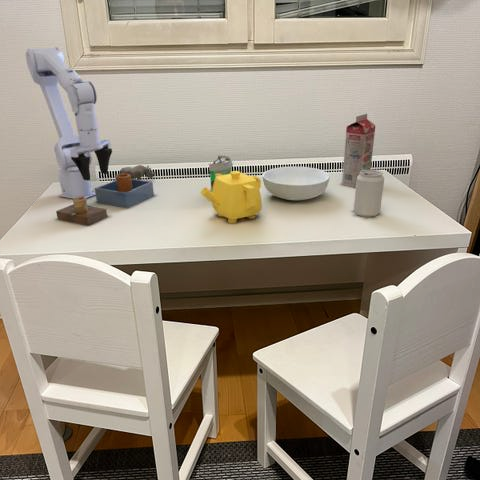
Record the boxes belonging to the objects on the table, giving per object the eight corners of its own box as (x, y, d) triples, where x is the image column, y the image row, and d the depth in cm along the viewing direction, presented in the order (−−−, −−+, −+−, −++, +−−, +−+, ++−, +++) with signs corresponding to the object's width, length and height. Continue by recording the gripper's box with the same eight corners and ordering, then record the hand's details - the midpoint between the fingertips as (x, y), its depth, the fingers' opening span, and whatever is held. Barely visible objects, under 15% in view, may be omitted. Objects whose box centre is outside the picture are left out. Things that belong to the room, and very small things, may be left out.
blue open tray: (97, 202, 160) (94, 188, 158) (124, 191, 170) (122, 177, 168) (127, 208, 155) (125, 193, 153) (154, 195, 165) (152, 181, 163)
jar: (115, 198, 162) (112, 176, 158) (125, 194, 165) (122, 172, 161) (126, 200, 160) (123, 178, 156) (136, 196, 163) (133, 174, 159)
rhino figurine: (159, 181, 179) (157, 164, 176) (121, 187, 174) (119, 169, 171) (155, 178, 183) (153, 161, 179) (118, 184, 177) (115, 167, 174)
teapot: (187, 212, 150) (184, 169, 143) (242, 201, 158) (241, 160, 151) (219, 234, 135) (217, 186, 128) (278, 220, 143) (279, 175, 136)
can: (348, 211, 148) (352, 170, 142) (369, 207, 150) (374, 167, 144) (363, 219, 142) (367, 176, 136) (385, 215, 144) (390, 173, 138)
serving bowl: (281, 211, 149) (282, 188, 146) (251, 192, 166) (251, 171, 162) (341, 200, 156) (343, 178, 153) (306, 183, 173) (307, 163, 169)
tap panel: (55, 220, 147) (53, 211, 146) (77, 211, 154) (75, 202, 152) (86, 226, 142) (84, 217, 141) (107, 216, 148) (106, 208, 147)
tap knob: (81, 213, 144) (79, 200, 142) (72, 212, 145) (69, 199, 143) (90, 210, 146) (88, 197, 144) (81, 208, 148) (79, 195, 146)
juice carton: (341, 184, 171) (347, 115, 160) (351, 180, 175) (358, 112, 164) (359, 188, 167) (366, 117, 156) (369, 183, 172) (376, 114, 160)
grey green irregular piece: (229, 196, 163) (227, 164, 157) (210, 195, 164) (208, 164, 159) (236, 185, 173) (236, 155, 168) (219, 184, 174) (218, 154, 169)
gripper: (79, 134, 137) (88, 184, 144) (115, 125, 148) (122, 172, 155) (61, 132, 140) (70, 181, 147) (97, 123, 151) (104, 169, 158)
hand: (95, 176), depth 151 cm, fingers open, 7 cm apart
